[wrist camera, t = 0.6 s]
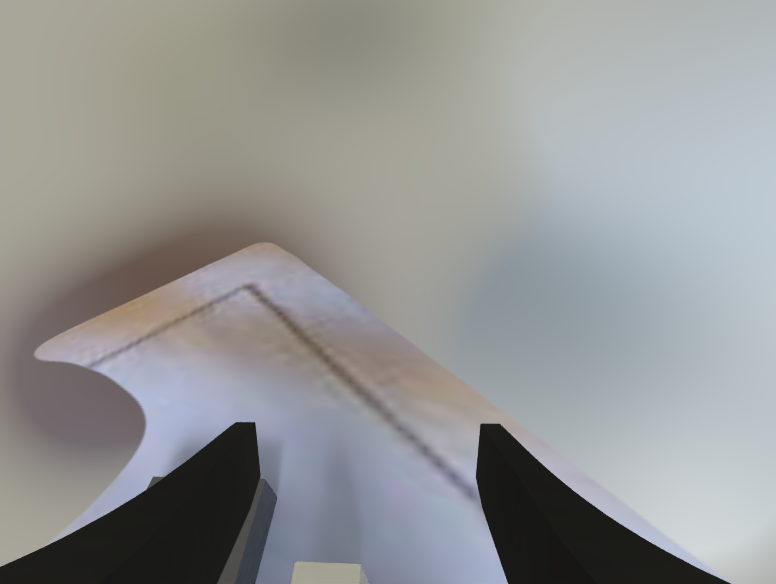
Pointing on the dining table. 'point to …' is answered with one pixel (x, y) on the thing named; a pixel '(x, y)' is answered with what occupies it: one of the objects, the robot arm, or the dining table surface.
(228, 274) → the dining table surface
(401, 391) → the dining table surface
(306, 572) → the cream slab block
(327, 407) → the dining table surface
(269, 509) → the grey flat block
